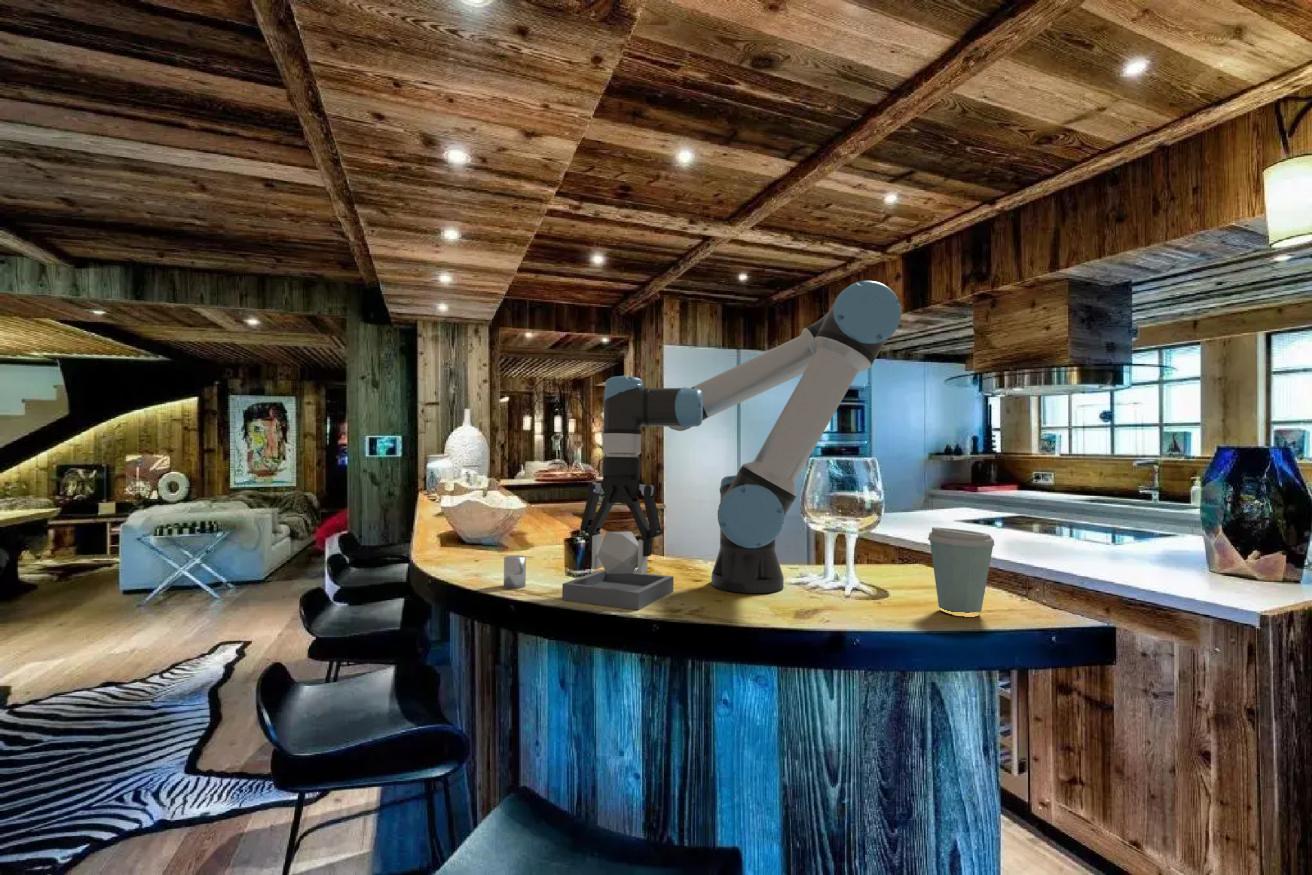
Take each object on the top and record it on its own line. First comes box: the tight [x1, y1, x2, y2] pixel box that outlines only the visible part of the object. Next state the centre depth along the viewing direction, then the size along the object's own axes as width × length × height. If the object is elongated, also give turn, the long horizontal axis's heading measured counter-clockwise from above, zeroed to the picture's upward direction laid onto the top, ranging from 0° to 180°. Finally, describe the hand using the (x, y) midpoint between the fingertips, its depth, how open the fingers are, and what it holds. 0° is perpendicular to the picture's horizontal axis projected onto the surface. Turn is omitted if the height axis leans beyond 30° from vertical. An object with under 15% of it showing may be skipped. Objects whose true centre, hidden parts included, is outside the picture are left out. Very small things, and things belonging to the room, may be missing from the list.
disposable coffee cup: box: [927, 526, 995, 613], centre depth 102 cm, size 11×11×15 cm
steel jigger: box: [503, 554, 527, 590], centre depth 119 cm, size 4×4×6 cm
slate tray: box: [561, 568, 674, 611], centre depth 112 cm, size 16×16×3 cm
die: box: [597, 531, 638, 574], centre depth 113 cm, size 8×9×10 cm
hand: (619, 570), depth 113 cm, fingers closed on die, 9 cm apart
